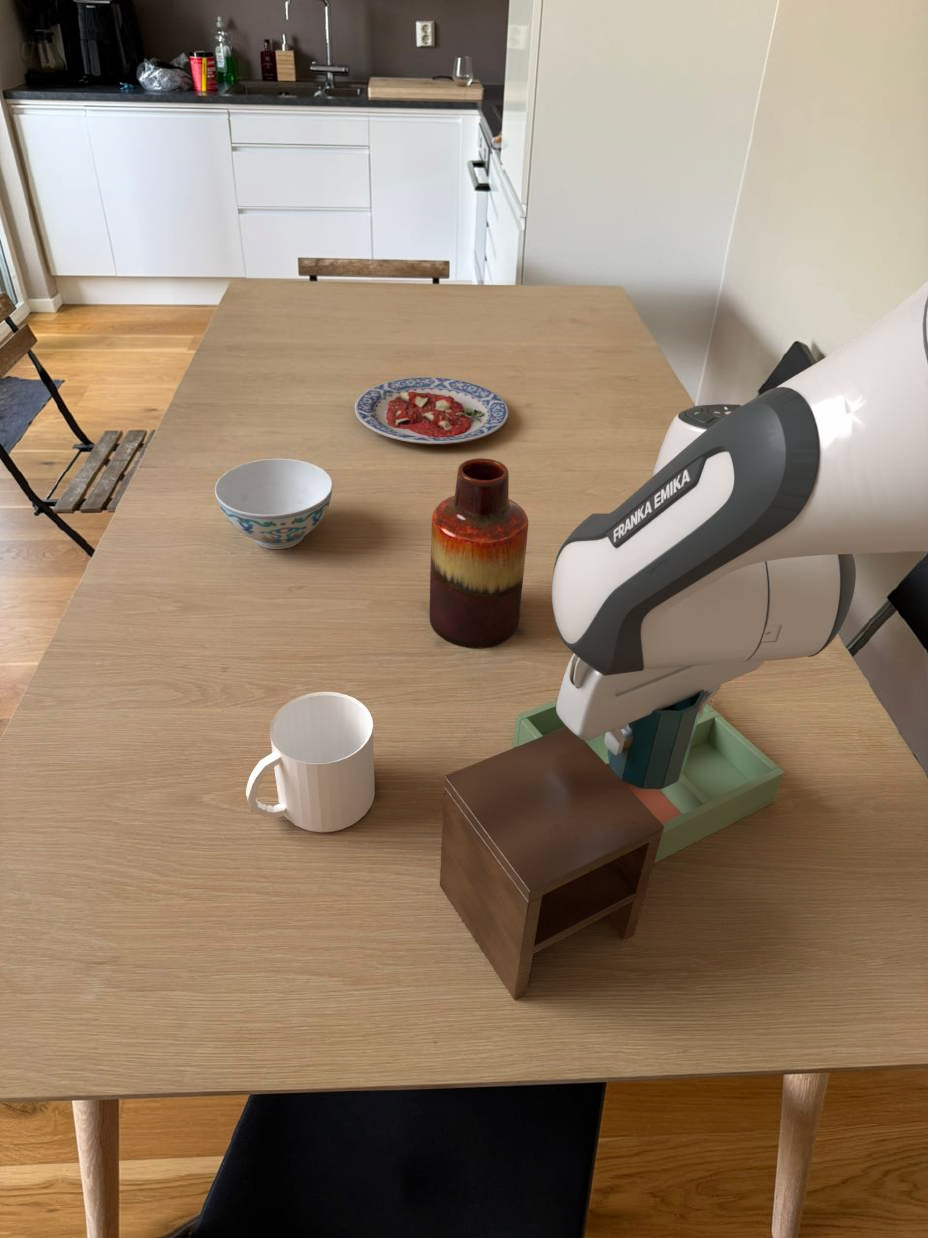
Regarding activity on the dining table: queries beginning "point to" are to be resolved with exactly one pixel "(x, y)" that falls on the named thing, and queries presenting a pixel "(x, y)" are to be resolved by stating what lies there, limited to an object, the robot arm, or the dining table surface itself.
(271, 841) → the dining table surface
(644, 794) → the tray
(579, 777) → the shelf
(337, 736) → the mug
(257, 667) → the dining table surface
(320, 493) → the chinaware
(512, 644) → the dining table surface
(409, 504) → the dining table surface
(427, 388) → the ceramic plate
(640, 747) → the cup
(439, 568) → the vase
